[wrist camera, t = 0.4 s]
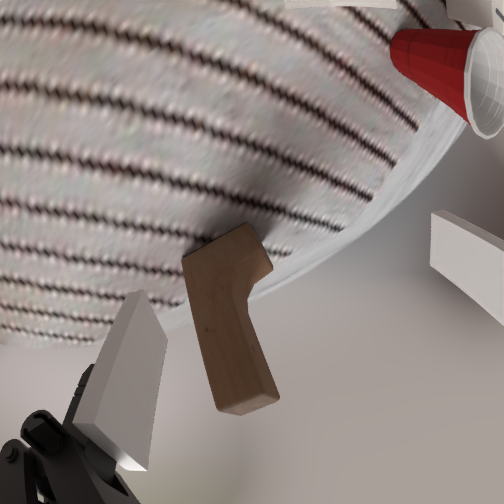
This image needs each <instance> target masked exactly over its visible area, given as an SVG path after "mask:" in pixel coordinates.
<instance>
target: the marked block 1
mask: <svg viewBox="0 0 504 504" xmlns="http://www.w3.org/2000/svg"><path fill="white" fill-rule="evenodd" d="M284 3H285V8H286V9H289V8H301V7H317V6H362V7H379V8H390V9H397V4H396V0H284Z"/></svg>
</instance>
